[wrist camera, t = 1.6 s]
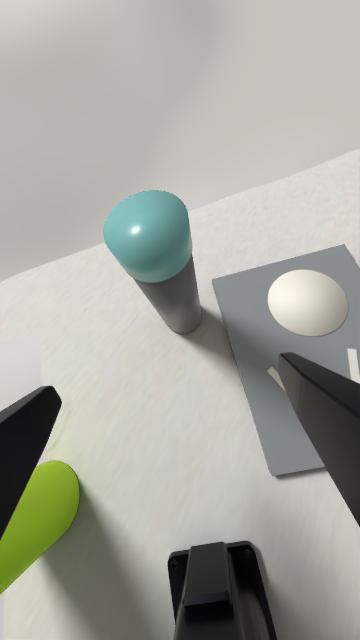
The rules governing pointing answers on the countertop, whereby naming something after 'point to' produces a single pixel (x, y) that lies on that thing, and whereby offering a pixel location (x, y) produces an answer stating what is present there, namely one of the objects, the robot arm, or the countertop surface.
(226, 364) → the countertop surface
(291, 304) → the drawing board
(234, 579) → the robot arm
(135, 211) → the marker
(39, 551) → the soap dispenser
